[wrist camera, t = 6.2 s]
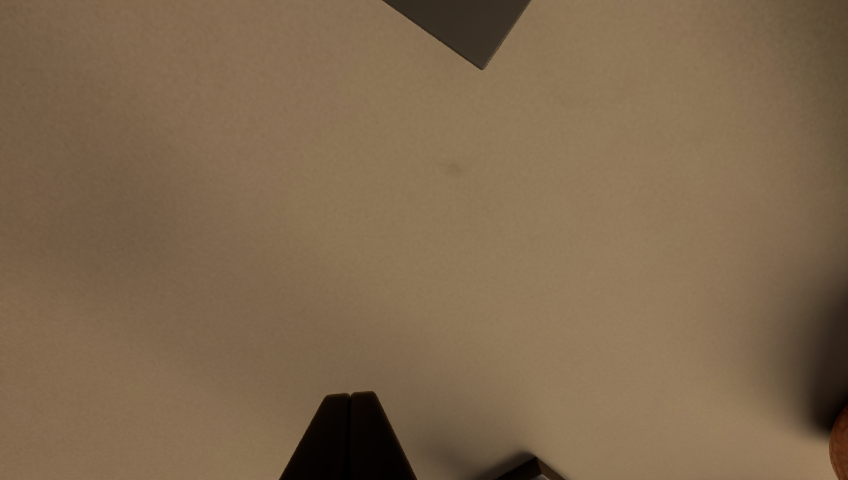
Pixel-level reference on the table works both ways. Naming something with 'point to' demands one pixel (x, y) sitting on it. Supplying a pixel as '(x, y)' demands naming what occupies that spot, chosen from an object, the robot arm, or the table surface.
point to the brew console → (465, 23)
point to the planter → (840, 445)
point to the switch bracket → (531, 472)
